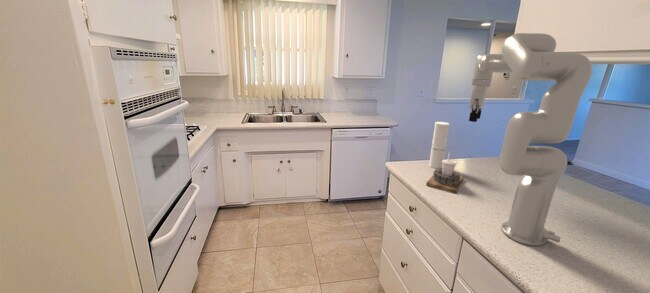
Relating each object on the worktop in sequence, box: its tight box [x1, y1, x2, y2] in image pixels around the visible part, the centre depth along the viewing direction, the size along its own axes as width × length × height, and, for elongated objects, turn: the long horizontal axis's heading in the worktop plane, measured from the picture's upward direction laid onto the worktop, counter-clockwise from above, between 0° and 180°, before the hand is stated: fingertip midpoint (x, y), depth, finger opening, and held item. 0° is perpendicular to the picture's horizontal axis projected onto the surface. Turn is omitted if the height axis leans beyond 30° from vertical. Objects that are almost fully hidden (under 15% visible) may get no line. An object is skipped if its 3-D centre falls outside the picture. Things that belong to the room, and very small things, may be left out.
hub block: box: [426, 168, 465, 194], centre depth 133 cm, size 13×18×5 cm
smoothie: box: [441, 152, 457, 177], centre depth 131 cm, size 6×6×14 cm
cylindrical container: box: [428, 121, 450, 170], centre depth 151 cm, size 7×7×25 cm
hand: (474, 119), depth 130 cm, fingers open, 9 cm apart
